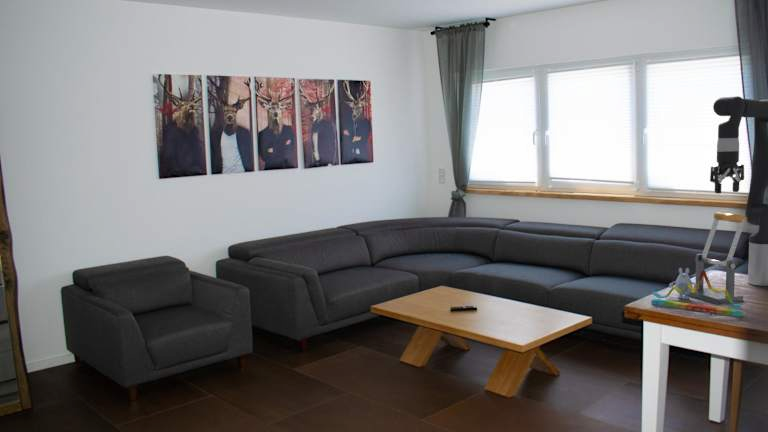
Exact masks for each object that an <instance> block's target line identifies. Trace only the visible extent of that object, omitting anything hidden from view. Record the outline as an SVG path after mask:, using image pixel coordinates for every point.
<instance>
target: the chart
mask: <svg viewBox="0 0 768 432" xmlns="http://www.w3.org/2000/svg"><path fill="white" fill-rule="evenodd" d="M702 276H704V280H705V283H706V285H707V288H709V289H710V290H712V291H715V292H724V293H725V294H726V296H727V298H728V300H729V302H730V303H729V304H730V307H734V308H736V307H738V308H740V307H741V306H743V303H735V302H733V301H732V299H731V297H730V295H729V293H728V291H727V290H726V289H720V290H718V289H719V288H716V287H713V286H712V285H711V283H710V280H709V277H708V274H707V273H706V270H705V269H704V270H703V271H702V272H701V275H700V278H699V281H698V283H697V286H696V289H694V287H693V285H692V286H691V285H690V284H689V285H687V286H686V287H685V288H684V289H683V290H680V289H679V288H678V287H676V286H675V285H673V287H671V288H670V290H669V291H668V293H667V294H666V295H661V293H660V294H659V293H658V292H656V291H652V292H651V294H652V295H653V296H655V297H657V298H653V299H651V303H650V305H653V306H660V307H667V308H673V309H681V310H688V311H695V312H700V313H702V312H703V313H708V314H714V315H715V314H716V315H722V316H728V317H736V318H740V317H742V316H743V311H742V310H739V309H734V308H733V309H731V308H725V307H716V306H710V305H703V304H694V303H687V302H683V301H682V302H681V301H674V300H667V299H665V298H668V297H669V296H670V295H671V293H672V292H673V291H674V290H675V291H676V292H677V293H678V292H679V293H681V292H682V291H684V290H685V289H686V288H687V287H688V288H689V289H690V290H691V291H692V292H693V293H695V292H697V290H698V287H699V284H700V281H701V279H702ZM679 293H678V294H679ZM663 298H664V299H663Z"/></svg>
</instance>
